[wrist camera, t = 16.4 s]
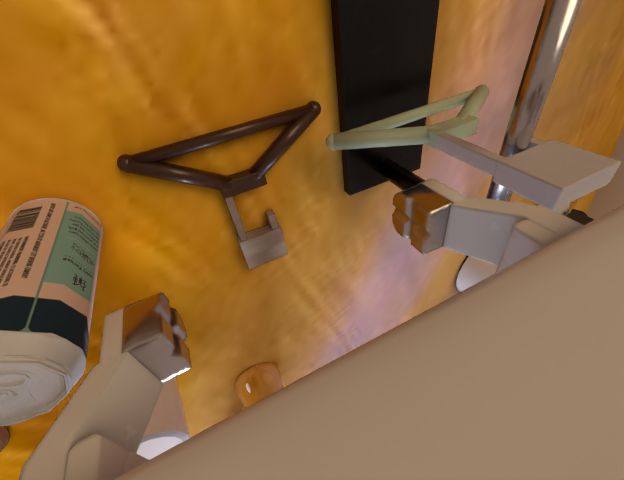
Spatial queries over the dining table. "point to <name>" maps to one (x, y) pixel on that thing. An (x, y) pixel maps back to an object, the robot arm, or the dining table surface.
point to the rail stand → (422, 81)
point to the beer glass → (258, 383)
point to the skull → (3, 437)
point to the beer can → (45, 303)
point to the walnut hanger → (257, 242)
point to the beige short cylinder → (165, 423)
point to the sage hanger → (507, 171)
